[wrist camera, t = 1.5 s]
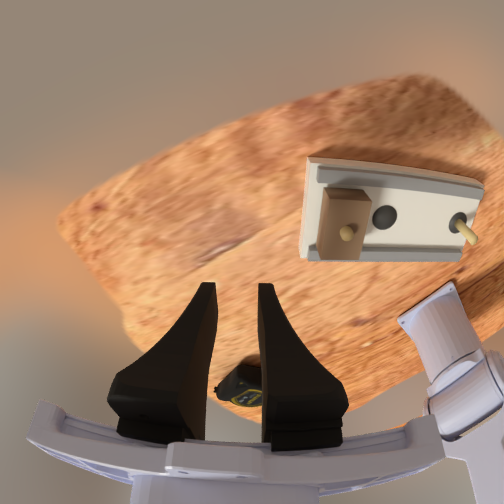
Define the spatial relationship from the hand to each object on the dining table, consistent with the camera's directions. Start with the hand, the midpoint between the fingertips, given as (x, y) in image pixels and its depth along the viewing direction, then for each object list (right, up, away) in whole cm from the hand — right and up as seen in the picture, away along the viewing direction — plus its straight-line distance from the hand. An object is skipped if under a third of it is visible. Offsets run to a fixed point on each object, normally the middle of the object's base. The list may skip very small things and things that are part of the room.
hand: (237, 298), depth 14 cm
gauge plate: (+14, +6, +8) cm, 17 cm away
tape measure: (0, -14, +23) cm, 27 cm away
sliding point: (+7, +5, +7) cm, 11 cm away
